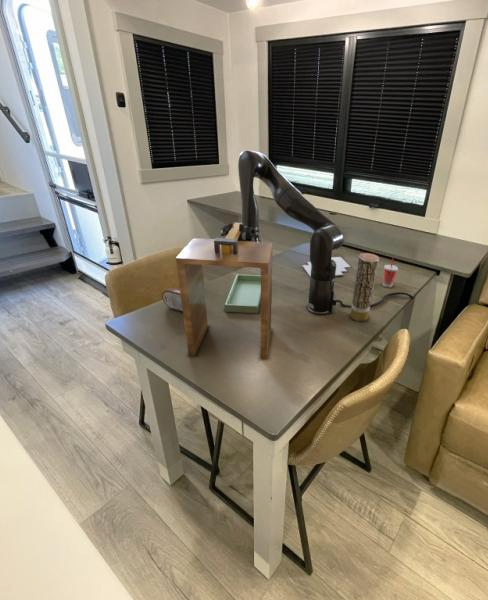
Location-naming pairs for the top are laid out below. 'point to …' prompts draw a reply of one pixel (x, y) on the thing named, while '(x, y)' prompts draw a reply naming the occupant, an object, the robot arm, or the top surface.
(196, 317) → the shelf stand
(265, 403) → the top surface
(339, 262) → the paper stack
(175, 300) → the tin
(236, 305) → the tray
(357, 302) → the bark covered firewood piece
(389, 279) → the beverage cup
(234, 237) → the rod
